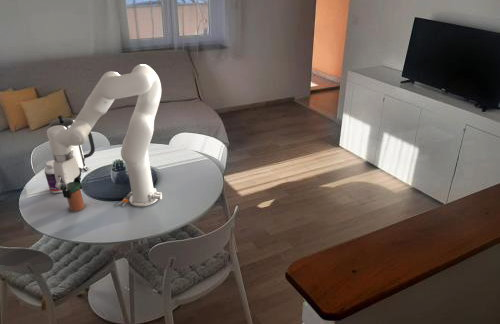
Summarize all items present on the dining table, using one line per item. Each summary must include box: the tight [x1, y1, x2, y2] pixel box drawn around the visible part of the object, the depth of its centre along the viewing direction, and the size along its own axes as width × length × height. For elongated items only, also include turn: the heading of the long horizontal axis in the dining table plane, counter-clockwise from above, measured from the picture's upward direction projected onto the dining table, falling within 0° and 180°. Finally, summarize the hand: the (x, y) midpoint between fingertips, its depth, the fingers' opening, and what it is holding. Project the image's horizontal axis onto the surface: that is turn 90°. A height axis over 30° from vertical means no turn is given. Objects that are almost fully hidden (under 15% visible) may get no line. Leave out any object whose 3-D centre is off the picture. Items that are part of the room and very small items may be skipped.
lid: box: [63, 181, 82, 193], centre depth 174 cm, size 7×7×2 cm
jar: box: [66, 189, 85, 212], centre depth 176 cm, size 6×6×10 cm
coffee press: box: [48, 114, 96, 172], centre depth 205 cm, size 17×16×30 cm
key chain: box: [115, 190, 132, 207], centre depth 183 cm, size 13×4×2 cm, turn 160°
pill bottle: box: [44, 159, 65, 194], centre depth 190 cm, size 8×8×14 cm
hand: (73, 192), depth 175 cm, fingers closed on lid, 6 cm apart
